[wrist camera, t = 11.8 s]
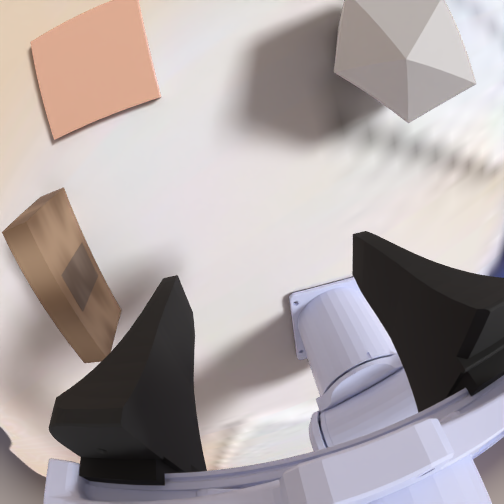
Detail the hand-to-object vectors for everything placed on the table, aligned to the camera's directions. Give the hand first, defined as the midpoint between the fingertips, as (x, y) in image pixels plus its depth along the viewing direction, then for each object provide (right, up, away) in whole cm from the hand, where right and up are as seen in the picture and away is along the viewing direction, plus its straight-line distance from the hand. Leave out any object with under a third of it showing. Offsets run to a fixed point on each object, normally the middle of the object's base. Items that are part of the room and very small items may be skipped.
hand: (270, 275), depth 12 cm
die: (+8, +15, +5) cm, 18 cm away
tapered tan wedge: (-15, 0, +10) cm, 18 cm away
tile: (-10, +10, +5) cm, 15 cm away
